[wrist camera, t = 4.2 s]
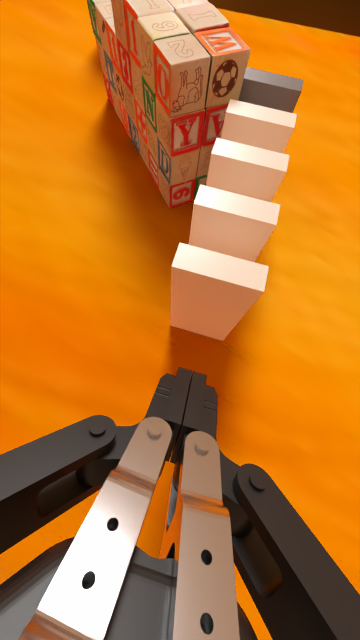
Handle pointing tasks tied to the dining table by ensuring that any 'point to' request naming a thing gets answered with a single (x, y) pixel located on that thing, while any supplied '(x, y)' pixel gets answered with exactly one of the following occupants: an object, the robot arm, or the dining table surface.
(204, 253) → the domino
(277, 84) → the domino
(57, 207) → the dining table surface
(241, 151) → the domino
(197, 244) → the domino
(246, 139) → the domino
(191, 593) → the robot arm
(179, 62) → the stack of blocks
